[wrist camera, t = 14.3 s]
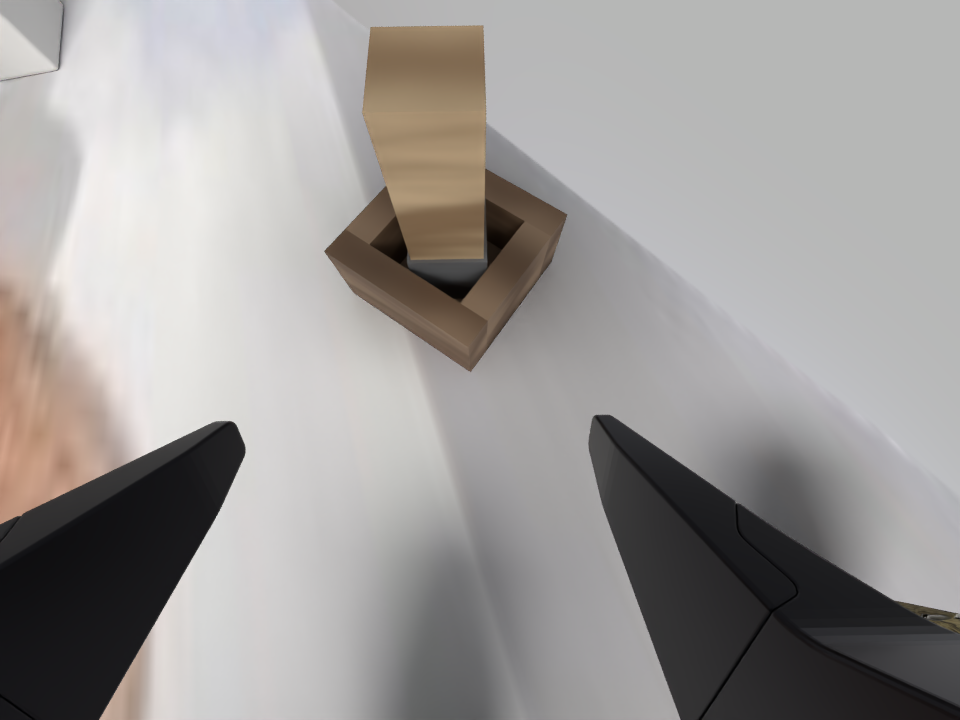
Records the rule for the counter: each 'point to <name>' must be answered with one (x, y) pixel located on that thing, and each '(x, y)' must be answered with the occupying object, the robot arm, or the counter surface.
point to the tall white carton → (29, 37)
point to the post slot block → (427, 310)
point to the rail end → (432, 145)
